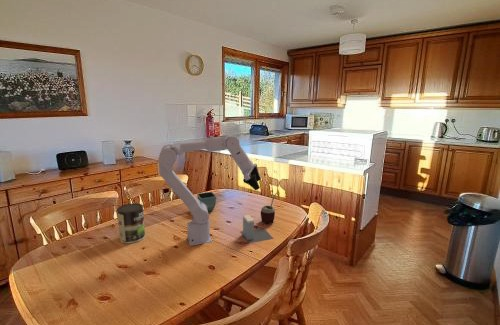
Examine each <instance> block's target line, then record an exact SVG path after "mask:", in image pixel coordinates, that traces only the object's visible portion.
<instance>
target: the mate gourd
mask: <svg viewBox="0 0 500 325" xmlns="http://www.w3.org/2000/svg"><path fill="white" fill-rule="evenodd" d="M277 194H278V192H276V193H275V194H274V195H273V196H272V198H271V199H272V200H271V203H270V205H264V206H263V207H261V211H260V219H261V222H264V223H265V225H268V224H269V223H271V224H272V223H273V224H274V221H275V218H276V217H275V215H276V212H275V209H274V207H273V203H274V199H275V197H276V196H277Z"/></svg>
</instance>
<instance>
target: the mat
mask: <svg viewBox="0 0 500 325" xmlns="http://www.w3.org/2000/svg"><path fill="white" fill-rule="evenodd" d="M239 233H240V234H241V235H242V237H243V238H244V240H246V242H247V244H253V243H258V242H259V243H260V242H264V241H269V240H273V239H274V238H275V237H273V236H272V235H271V234H270V233H269V232H268V230H266V229H265V227H260V228H254V239H252V240H247V239H246V237H245V236H244V235H243V230H242V231H240V232H239Z"/></svg>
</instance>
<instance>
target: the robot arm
mask: <svg viewBox="0 0 500 325" xmlns="http://www.w3.org/2000/svg"><path fill="white" fill-rule="evenodd" d="M201 150H206V151H207V152H209V153H210V152H217V151H218V152H220V151H225V150H227V151H229V154H230V156H231V158H232V159H233V160H234V162H235V163H236V166H238V168H239V170H240V171H241V173H242V175H243V180H242V181H243V183H244V184H247V185H249V186H250V187H251V188H252V189H254V190H255V191H258V190H259V189H260V185H259V183H258V182H259V181H261V175H260V173H259V171H258V164H257V163H254V162H253V161H252V160H251V159H250V158H249V156H248V155H247V153H246V152H245V150H244V148H243V147H242V145H241V144H240V140H239V139H238V138H237V137H235V136H234V135H232V134H226V135H225V134H223V135H222V136H214V135H210V136H209V137H207V138H206V139H205V140H204V141H203V140H202V141H187V142H186V141H184V142H176V143H172V144H166V145H164V146H162V148H161V150H160V152H159V156H158V160H157V161H158V172H159V175H160V177H161V178H162V180H164V181H165V183H166V184H167V185H168V186H169V187H170V188H171V189H172V191H173V192H174V193H175V194H176V196H178V198H179V199H180V200H181V201H182V203H184V204H185V206H187V208H188V210H189V212H190V214H191V215H192V217H193V218H192V220H190V221H189V222H187V224H186V226H187V227H186V228H187V240H188V244H189V246H191V247H193V246H197V245H202V244H203V245H204V244H208V243H213V239H212V237H211V232H210V229H211V228H210V226H211V224H210V213H209V211H208V210H207V206H206V204H204V203H202V202H200V201H199V200H198V197H196V196H195V195H194V194H193V193H192V192H191V190H190V189H189V188H188V186H186V184H185V183H184V182H183V181H182V180H181V178H180V177H179V176H178V175H177V173H176V172H174V170H173V169H174V165H175V163H176V161H177V159H178V157H179V158H180V157H182V156H183V155H184V154H185V153H187V152H193V151H194V152H195V151H201Z"/></svg>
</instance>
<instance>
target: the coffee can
mask: <svg viewBox="0 0 500 325" xmlns="http://www.w3.org/2000/svg"><path fill="white" fill-rule="evenodd" d="M116 212H117V222H118V228H119V230H118V232H119V241H120V242H121V243H123V244H134V243H138V242H140V241H142V240H144V238H146V229H145V215H144V205H143V204H142V203H138V202H137V203H135V202H134V203H126V204H123V205H120V206H118V208H117V209H116Z"/></svg>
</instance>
